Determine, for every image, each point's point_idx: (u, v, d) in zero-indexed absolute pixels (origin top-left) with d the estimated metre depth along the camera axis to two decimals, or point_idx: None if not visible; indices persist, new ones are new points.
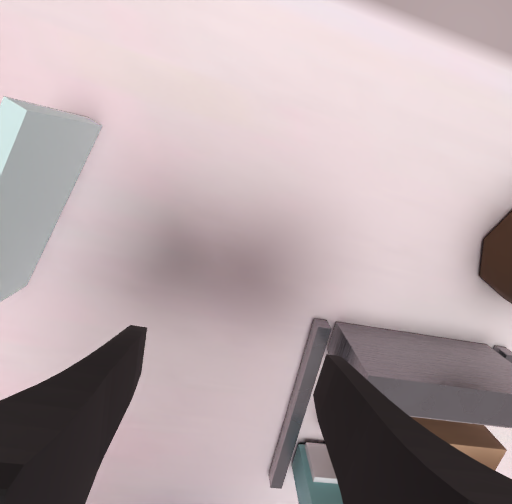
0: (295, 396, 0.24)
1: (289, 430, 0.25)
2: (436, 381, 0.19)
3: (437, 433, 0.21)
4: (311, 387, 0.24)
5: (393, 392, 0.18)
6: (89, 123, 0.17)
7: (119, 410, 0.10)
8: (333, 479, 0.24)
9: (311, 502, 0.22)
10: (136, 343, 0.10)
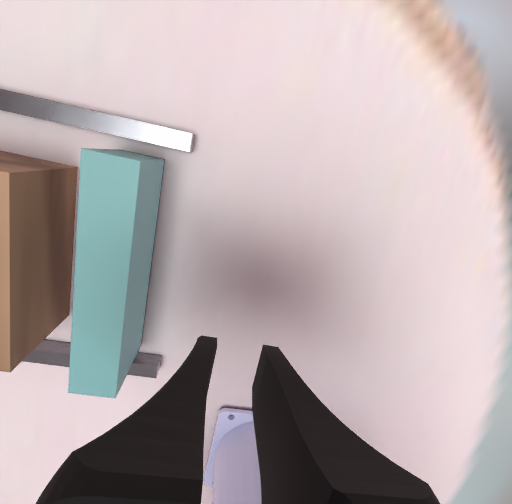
0: None
1: (59, 364, 0.21)
2: None
3: None
4: None
5: None
6: None
7: None
8: None
9: (70, 389, 0.17)
10: None
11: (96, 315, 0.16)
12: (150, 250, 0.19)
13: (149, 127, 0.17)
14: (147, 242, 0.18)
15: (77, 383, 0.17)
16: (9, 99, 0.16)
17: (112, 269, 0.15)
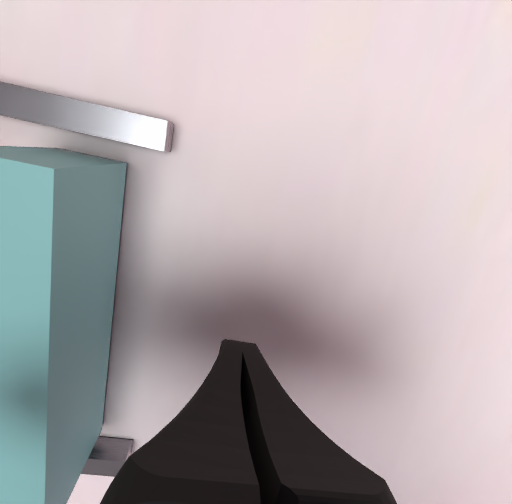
0: None
1: None
2: None
3: None
4: None
5: None
6: None
7: None
8: None
9: None
10: None
11: None
12: (107, 302, 0.13)
13: (96, 110, 0.10)
14: (98, 294, 0.11)
15: None
16: None
17: (18, 362, 0.08)
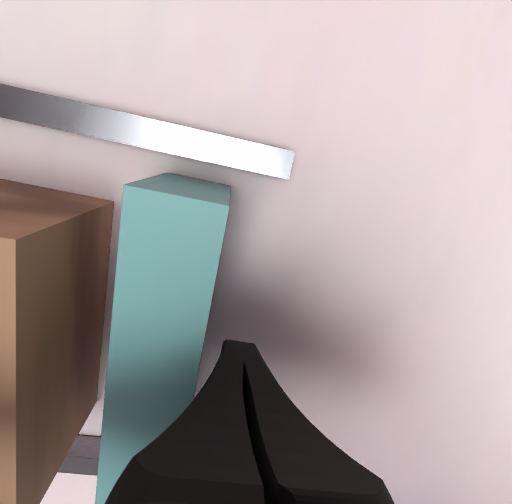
0: None
1: (83, 472, 0.15)
2: None
3: None
4: None
5: None
6: None
7: None
8: None
9: None
10: None
11: (139, 448, 0.10)
12: None
13: (231, 143, 0.11)
14: None
15: None
16: (14, 101, 0.10)
17: (169, 381, 0.09)
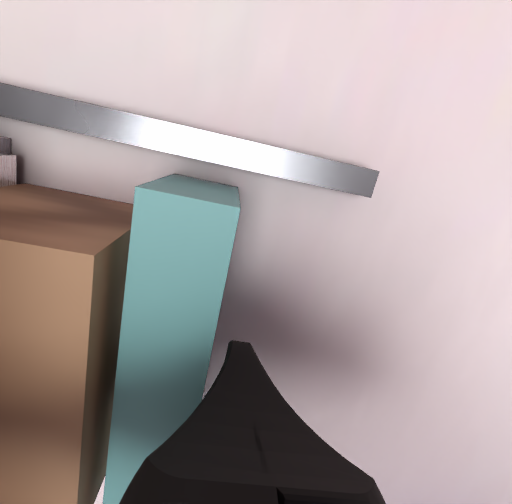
0: None
1: None
2: None
3: None
4: None
5: None
6: None
7: None
8: None
9: None
10: None
11: (146, 449, 0.10)
12: None
13: (319, 163, 0.11)
14: None
15: None
16: (118, 124, 0.10)
17: (178, 382, 0.09)
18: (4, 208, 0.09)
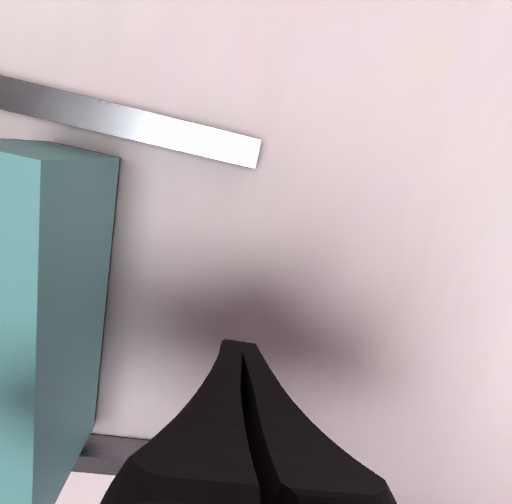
0: None
1: None
2: None
3: None
4: None
5: None
6: None
7: None
8: None
9: None
10: (241, 358, 0.11)
11: None
12: (99, 298, 0.12)
13: (195, 129, 0.11)
14: (89, 290, 0.11)
15: None
16: None
17: (4, 357, 0.08)
18: None
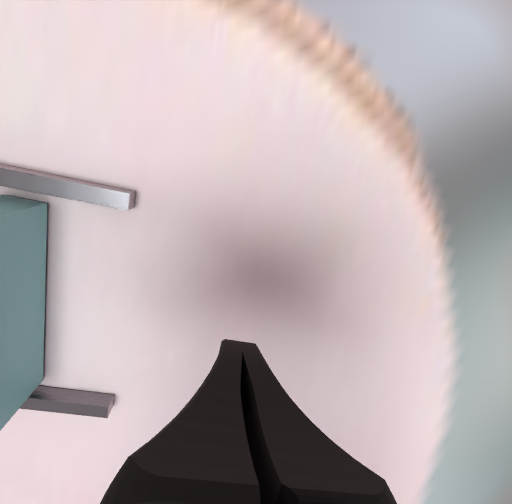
0: None
1: None
2: None
3: None
4: None
5: None
6: None
7: None
8: None
9: None
10: (241, 358, 0.11)
11: None
12: (38, 291, 0.19)
13: (87, 188, 0.18)
14: (28, 285, 0.18)
15: None
16: None
17: None
18: None
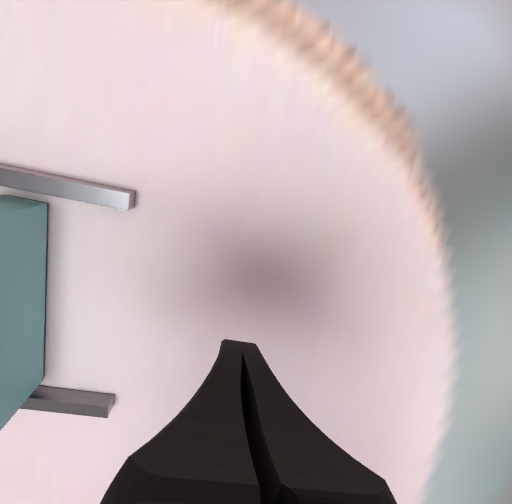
0: None
1: None
2: None
3: None
4: None
5: None
6: None
7: None
8: None
9: None
10: (241, 358, 0.11)
11: None
12: (38, 291, 0.19)
13: (87, 188, 0.18)
14: (28, 285, 0.18)
15: None
16: None
17: None
18: None
